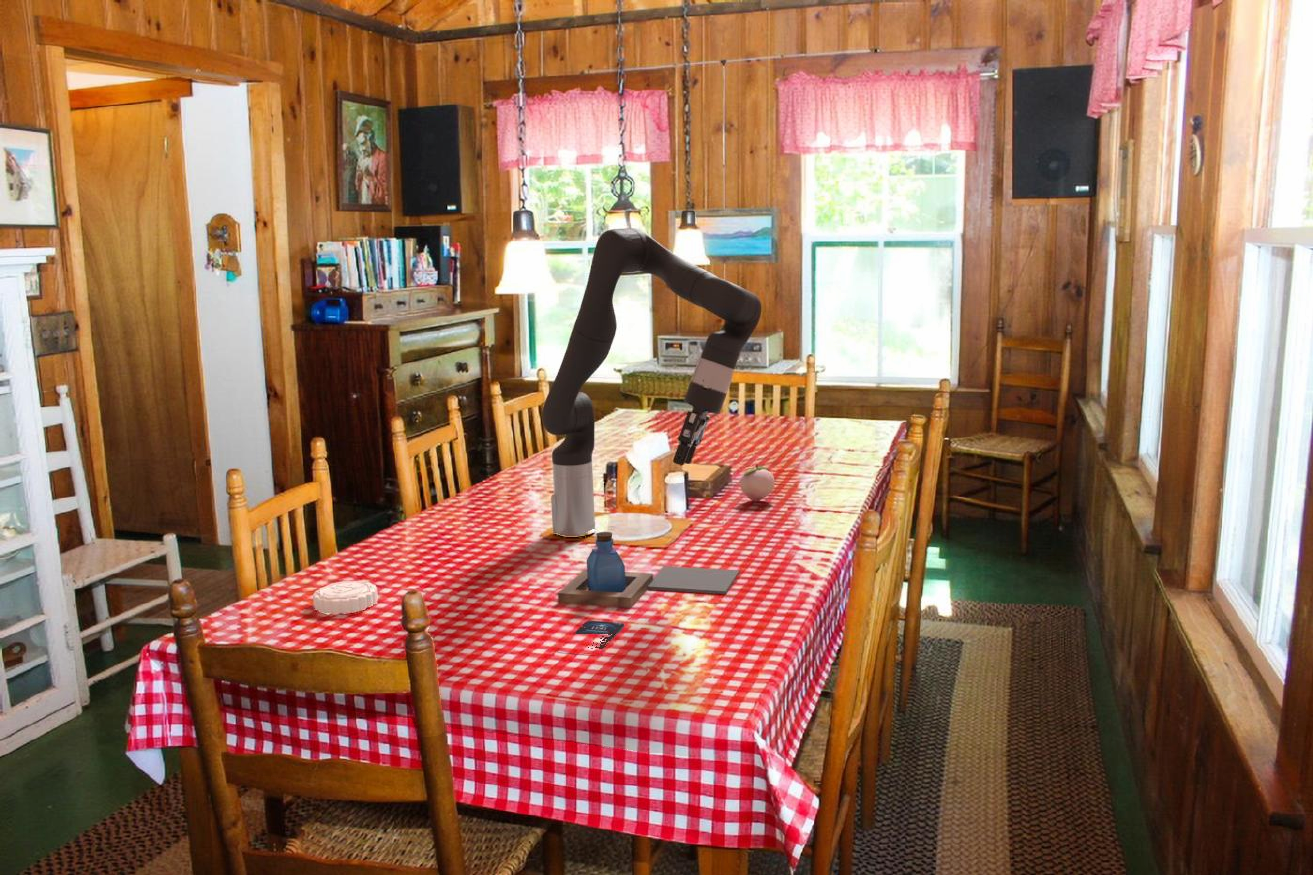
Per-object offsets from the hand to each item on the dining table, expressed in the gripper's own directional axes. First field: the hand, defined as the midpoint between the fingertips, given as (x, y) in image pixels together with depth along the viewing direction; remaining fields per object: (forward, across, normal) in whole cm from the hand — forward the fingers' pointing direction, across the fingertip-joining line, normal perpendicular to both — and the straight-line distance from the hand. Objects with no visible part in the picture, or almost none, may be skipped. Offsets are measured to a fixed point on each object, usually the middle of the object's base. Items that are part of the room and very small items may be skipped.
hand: (681, 463), depth 210 cm
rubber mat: (+22, -4, +10) cm, 24 cm away
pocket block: (+29, +4, -5) cm, 29 cm away
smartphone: (+32, +27, 0) cm, 42 cm away
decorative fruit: (+8, -67, +13) cm, 69 cm away
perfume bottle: (+29, +4, -5) cm, 30 cm away
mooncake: (+48, +15, -50) cm, 71 cm away
